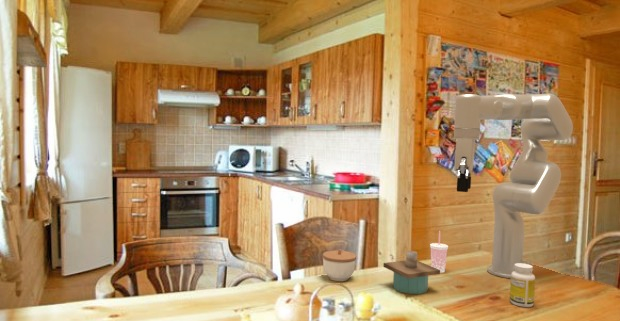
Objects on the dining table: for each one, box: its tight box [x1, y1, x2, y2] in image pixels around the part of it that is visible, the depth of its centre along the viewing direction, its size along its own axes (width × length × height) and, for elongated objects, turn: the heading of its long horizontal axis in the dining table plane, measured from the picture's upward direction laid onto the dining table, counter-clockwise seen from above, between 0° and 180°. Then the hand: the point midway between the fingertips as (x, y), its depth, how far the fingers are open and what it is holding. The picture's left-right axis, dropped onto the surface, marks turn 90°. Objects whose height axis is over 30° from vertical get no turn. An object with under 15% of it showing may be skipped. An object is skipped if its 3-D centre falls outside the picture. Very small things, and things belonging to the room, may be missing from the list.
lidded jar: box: [322, 248, 357, 282], centre depth 144 cm, size 11×11×9 cm
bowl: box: [392, 272, 429, 295], centre depth 136 cm, size 10×10×6 cm
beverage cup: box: [429, 230, 449, 274], centre depth 155 cm, size 6×6×14 cm
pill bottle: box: [509, 263, 536, 308], centre depth 126 cm, size 6×6×11 cm
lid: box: [383, 250, 441, 278], centre depth 136 cm, size 12×12×6 cm
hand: (463, 190), depth 138 cm, fingers open, 9 cm apart
